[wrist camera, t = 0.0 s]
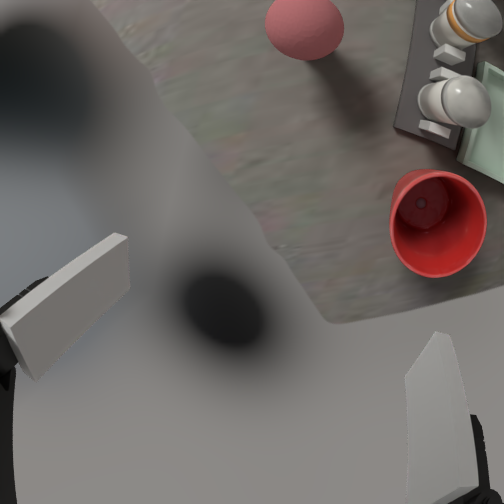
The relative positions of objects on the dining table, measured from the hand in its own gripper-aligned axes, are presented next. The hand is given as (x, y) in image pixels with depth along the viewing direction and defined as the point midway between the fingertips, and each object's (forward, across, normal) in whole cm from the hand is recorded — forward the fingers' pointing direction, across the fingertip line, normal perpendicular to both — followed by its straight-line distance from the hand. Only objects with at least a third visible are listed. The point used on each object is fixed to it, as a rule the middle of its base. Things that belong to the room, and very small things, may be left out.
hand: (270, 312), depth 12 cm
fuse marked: (+27, +11, +21) cm, 36 cm away
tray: (+28, +21, +13) cm, 37 cm away
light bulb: (+28, -4, +15) cm, 32 cm away
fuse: (+27, +11, +12) cm, 32 cm away
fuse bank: (+28, +11, +21) cm, 37 cm away
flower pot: (+28, +13, 0) cm, 31 cm away
